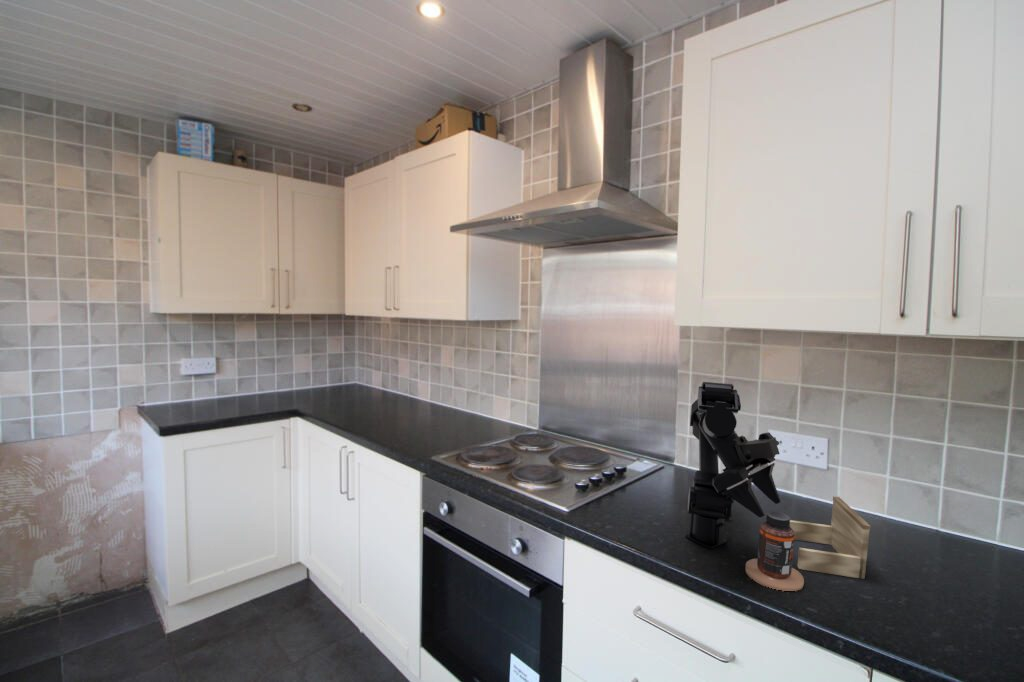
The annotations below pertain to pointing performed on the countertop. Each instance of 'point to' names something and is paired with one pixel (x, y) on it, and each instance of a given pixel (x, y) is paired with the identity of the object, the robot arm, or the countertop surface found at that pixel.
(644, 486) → the countertop surface
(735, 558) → the countertop surface
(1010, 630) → the countertop surface
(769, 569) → the supplement bottle
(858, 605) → the countertop surface
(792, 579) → the peach rounded disc
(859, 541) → the wooden bench
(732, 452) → the robot arm
